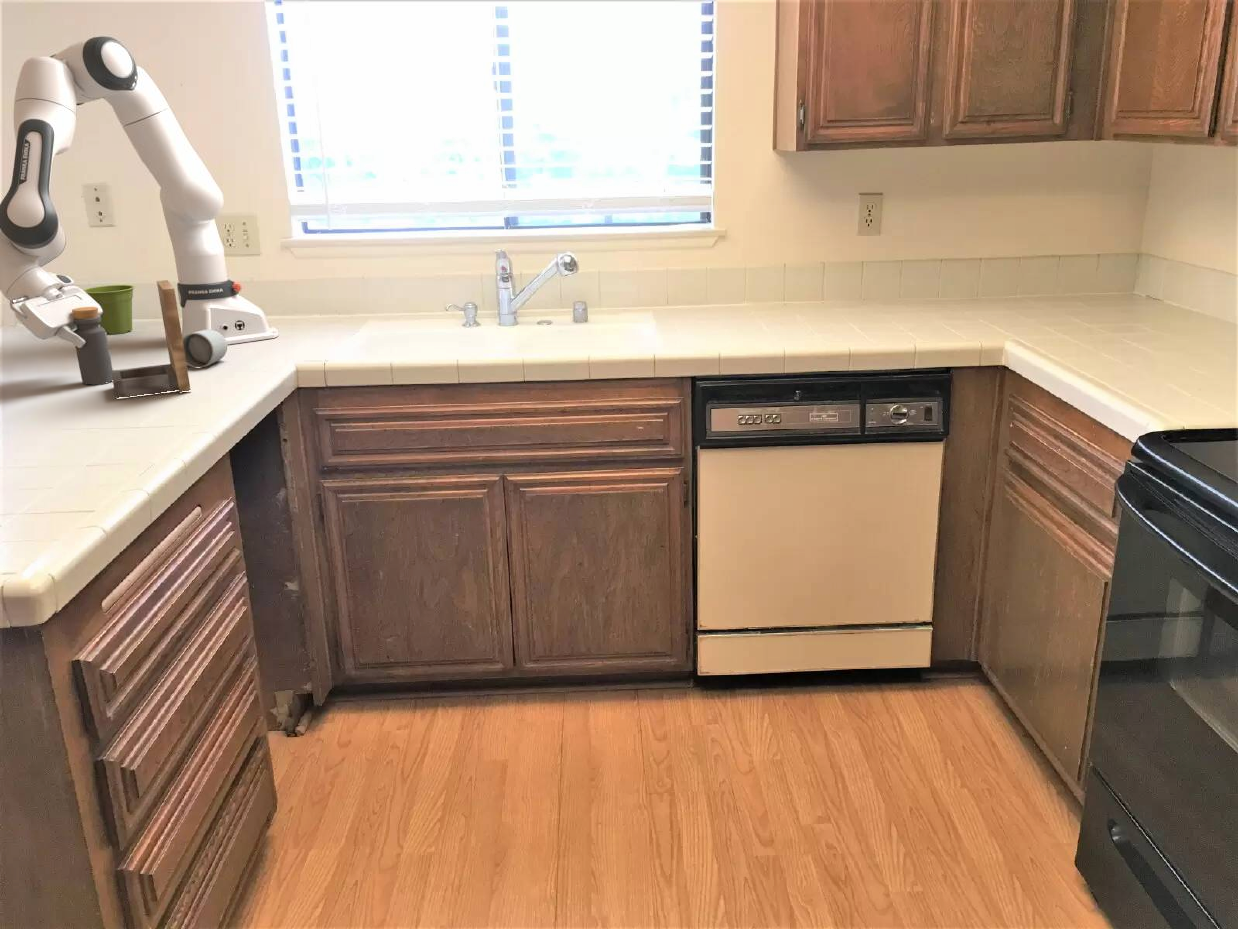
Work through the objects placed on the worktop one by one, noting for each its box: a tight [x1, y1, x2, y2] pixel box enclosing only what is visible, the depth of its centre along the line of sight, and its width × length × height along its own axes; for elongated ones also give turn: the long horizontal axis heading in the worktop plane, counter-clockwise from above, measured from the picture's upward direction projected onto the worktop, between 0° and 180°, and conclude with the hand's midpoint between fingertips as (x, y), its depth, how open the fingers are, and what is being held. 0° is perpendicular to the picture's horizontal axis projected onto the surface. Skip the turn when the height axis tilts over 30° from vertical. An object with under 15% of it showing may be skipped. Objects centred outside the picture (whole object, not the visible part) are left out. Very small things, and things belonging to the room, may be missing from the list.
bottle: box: [72, 307, 114, 385], centre depth 202 cm, size 6×6×15 cm
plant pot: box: [82, 284, 135, 335], centre depth 256 cm, size 12×12×11 cm
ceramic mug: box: [183, 330, 228, 369], centre depth 218 cm, size 11×8×8 cm
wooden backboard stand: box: [111, 279, 192, 399], centre depth 195 cm, size 13×14×20 cm
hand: (94, 341), depth 202 cm, fingers closed on bottle, 6 cm apart
